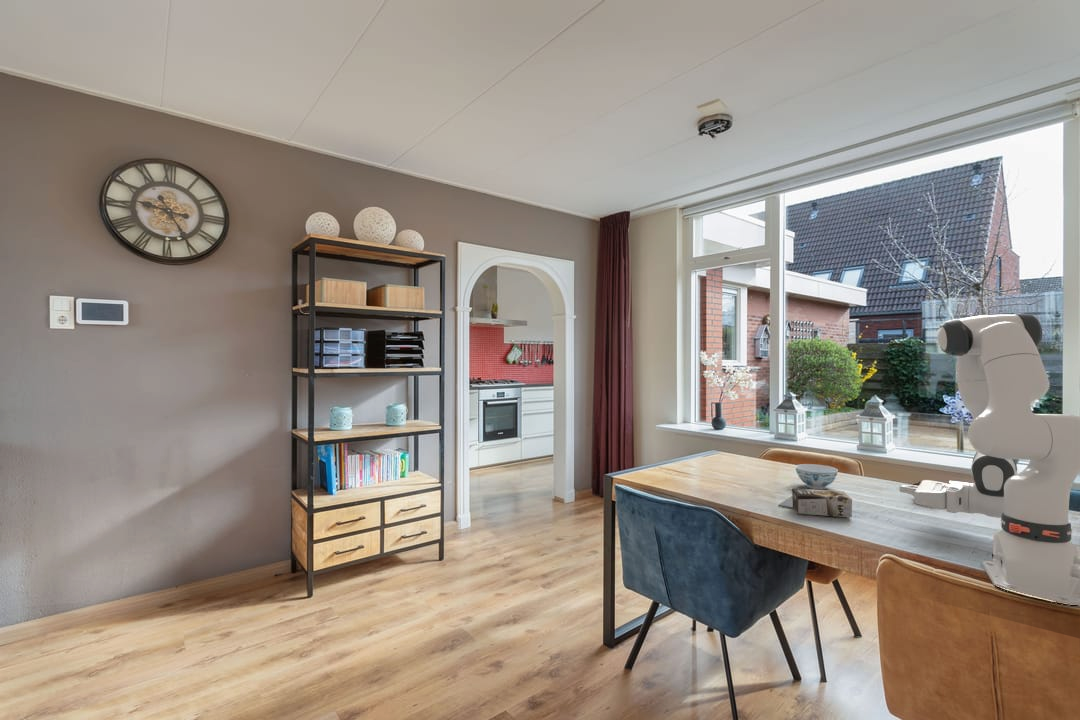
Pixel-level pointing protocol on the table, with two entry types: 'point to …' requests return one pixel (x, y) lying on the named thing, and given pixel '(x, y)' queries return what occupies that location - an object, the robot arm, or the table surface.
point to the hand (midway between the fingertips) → (900, 488)
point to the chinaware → (816, 475)
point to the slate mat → (787, 503)
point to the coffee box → (822, 502)
